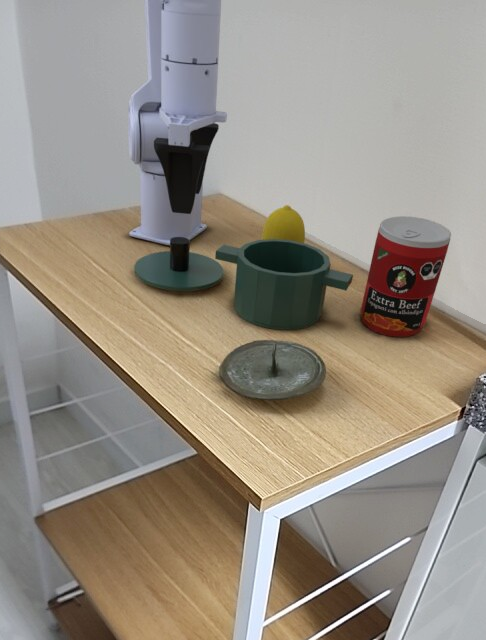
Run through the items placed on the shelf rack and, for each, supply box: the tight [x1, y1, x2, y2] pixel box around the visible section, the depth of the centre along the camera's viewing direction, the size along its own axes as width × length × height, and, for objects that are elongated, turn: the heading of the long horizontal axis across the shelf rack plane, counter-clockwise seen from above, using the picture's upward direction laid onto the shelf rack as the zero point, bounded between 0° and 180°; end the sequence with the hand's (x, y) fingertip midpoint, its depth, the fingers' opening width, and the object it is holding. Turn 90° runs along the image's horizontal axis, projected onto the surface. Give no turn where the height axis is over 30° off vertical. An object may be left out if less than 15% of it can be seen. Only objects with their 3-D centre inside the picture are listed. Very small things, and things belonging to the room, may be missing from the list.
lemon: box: [261, 204, 306, 243], centre depth 83 cm, size 6×6×8 cm
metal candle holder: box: [218, 339, 327, 402], centre depth 62 cm, size 11×10×5 cm
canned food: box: [360, 215, 452, 338], centre depth 72 cm, size 8×8×11 cm
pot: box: [214, 239, 354, 331], centre depth 74 cm, size 10×16×6 cm, turn 67°
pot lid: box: [133, 237, 225, 292], centre depth 79 cm, size 11×11×5 cm
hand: (186, 202), depth 73 cm, fingers open, 7 cm apart
